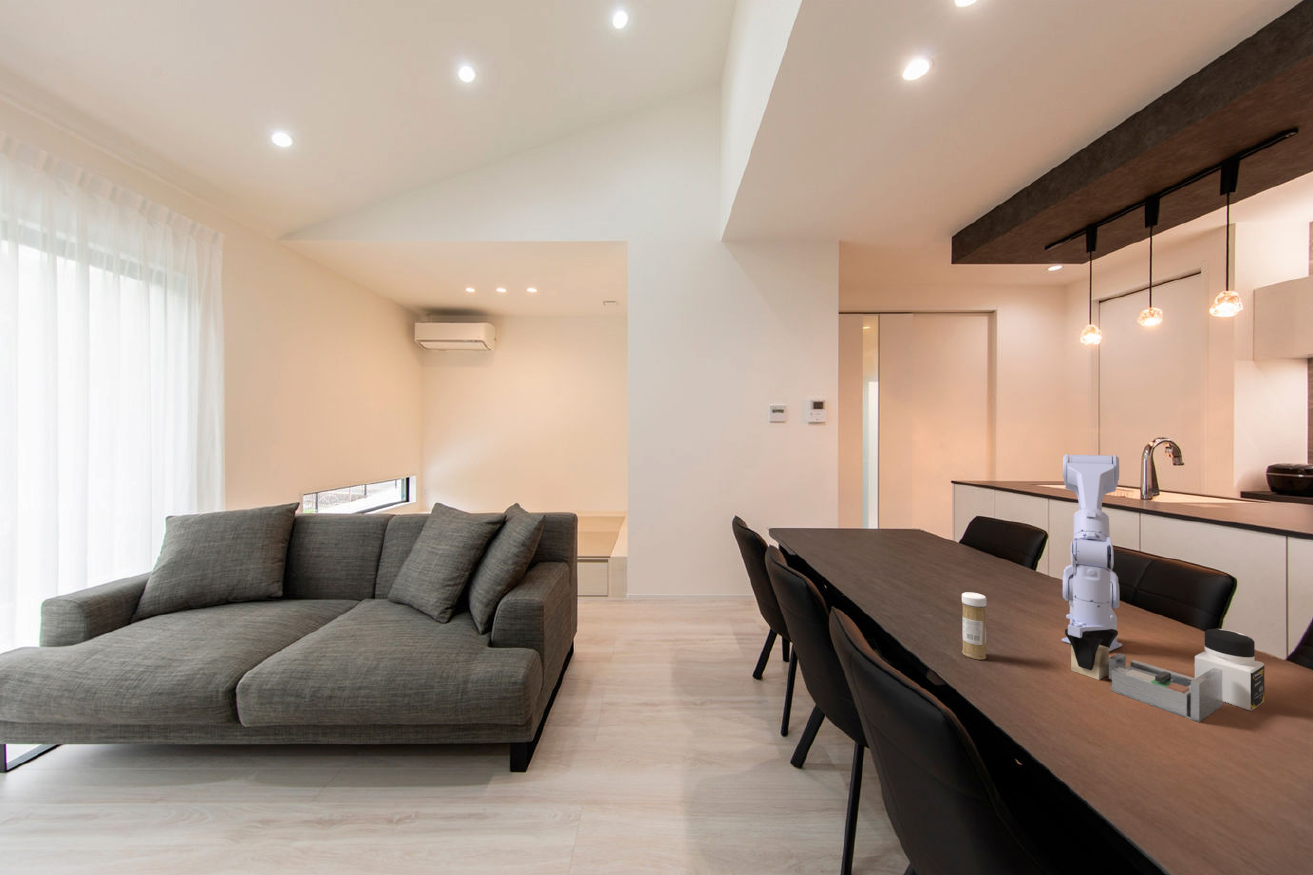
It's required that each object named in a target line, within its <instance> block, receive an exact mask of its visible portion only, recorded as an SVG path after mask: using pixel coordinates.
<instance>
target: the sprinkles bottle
mask: <svg viewBox="0 0 1313 875" xmlns="http://www.w3.org/2000/svg"><path fill="white" fill-rule="evenodd" d="M961 602H962V603H961V604H962V625H961V626H962V628H961V629H962V633H961V634H962V651H961V652H962V654H963V656H966V657H967V658H969V659H973V660H977V661H979V660H980V661H981V660H985V659H987V654H986V653H987V652H986V651H987V646H986V644H987V628H986V625H987V623H986V616H987V615H986V606H987V596H985V595H984V594H982V593H981V594H980V593H977V592H971V591H970V592H968V591H967V592H966V591H965V592H963V593H961Z"/></svg>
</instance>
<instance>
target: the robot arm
mask: <svg viewBox="0 0 1313 875" xmlns="http://www.w3.org/2000/svg"><path fill="white" fill-rule="evenodd" d="M1062 479H1063V484H1064V486H1065V489H1066V490H1068V491H1070V492H1073V493H1074V494H1075V496H1076V498H1077V501H1078V510H1077V511H1075V512H1074V514H1073V516H1072V518H1073V519H1072V520H1073V523H1072V524H1073V530H1072V533H1073V537H1072V539H1071V542H1070V564H1068V565H1066V566H1065V568H1064V569H1063V575H1062V598H1063V600H1065V602H1066V601H1067V602H1068V604H1069V613H1067V614H1066V616H1065V618H1066V619H1068V620H1069V623H1068V625H1067V628H1065V629H1064V635H1065V636H1066V637H1062V638H1061V641H1062V642H1064V643H1068V644H1071V645H1072V647H1073V650H1074V653H1075V656H1076V660H1077V663H1078V666H1079V667H1082V668H1085V669H1088V670H1092V669H1093V666H1094V662H1095V656H1096V652H1097V649H1098V647H1099V645H1102V646H1105V647H1108V648H1109V652H1111V651H1114V650H1115V649H1116V650H1117V649H1119V648H1120V647H1122V646H1123V643H1121V642H1118V635H1119V631H1118V618H1117V614H1116V613H1115V611H1114V610H1117V609H1118V608H1119V607H1120V583H1119V577H1118V575H1117V573H1116V572H1114V571H1113V568H1114V563H1115V562H1114V546H1113V543H1112V537H1111V535H1110V534H1111V533H1110V516H1109V515H1108V514H1107V513H1106V512H1104V511H1103V510H1102V507H1103V506H1102V505H1103V500H1104V498H1105V496H1106V494H1110V493H1113V492H1117V488H1118V484H1119V480H1120V457H1119V456H1117V454H1112V455H1110V454H1108V455H1103V454H1101V455H1099V454H1068V453H1065V454H1064V455H1063V456H1062ZM1108 563H1109V565H1110V568H1109V567H1108ZM1113 609H1114V610H1113ZM1071 645H1070V646H1071Z"/></svg>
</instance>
